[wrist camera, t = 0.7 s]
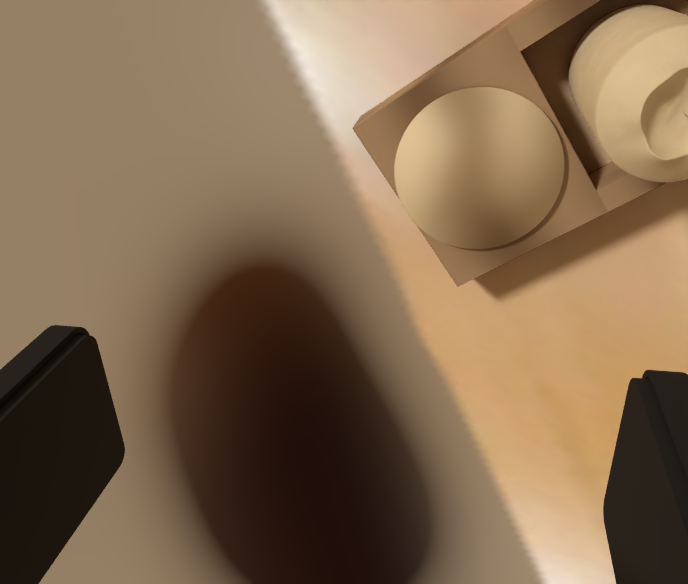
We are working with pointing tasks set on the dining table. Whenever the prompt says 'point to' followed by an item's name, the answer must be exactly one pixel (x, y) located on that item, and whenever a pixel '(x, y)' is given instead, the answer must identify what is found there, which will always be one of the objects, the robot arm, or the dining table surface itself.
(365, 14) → the dining table surface
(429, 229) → the wooden holder tray
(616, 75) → the candle
